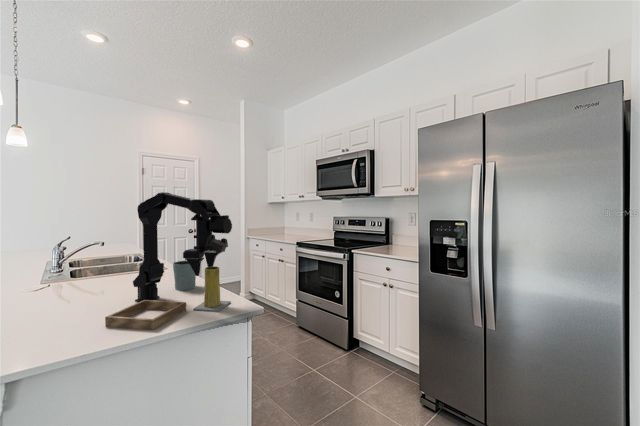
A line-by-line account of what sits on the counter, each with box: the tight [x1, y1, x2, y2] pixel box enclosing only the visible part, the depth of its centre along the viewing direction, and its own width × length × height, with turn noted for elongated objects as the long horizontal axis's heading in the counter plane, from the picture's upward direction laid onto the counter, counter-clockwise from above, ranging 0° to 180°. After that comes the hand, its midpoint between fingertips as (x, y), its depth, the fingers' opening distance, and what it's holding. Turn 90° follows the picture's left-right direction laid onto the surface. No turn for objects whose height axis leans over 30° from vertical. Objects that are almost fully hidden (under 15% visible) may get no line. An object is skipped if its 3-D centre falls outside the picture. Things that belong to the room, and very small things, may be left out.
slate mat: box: [192, 300, 231, 313], centre depth 114 cm, size 10×10×1 cm
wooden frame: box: [104, 299, 187, 331], centre depth 102 cm, size 17×17×3 cm
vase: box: [203, 265, 221, 307], centre depth 113 cm, size 6×6×14 cm
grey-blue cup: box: [172, 260, 197, 291], centre depth 138 cm, size 10×10×12 cm
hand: (204, 273), depth 114 cm, fingers open, 9 cm apart
